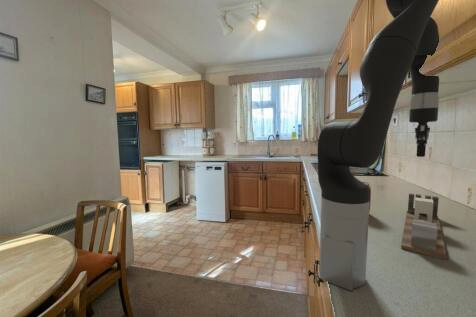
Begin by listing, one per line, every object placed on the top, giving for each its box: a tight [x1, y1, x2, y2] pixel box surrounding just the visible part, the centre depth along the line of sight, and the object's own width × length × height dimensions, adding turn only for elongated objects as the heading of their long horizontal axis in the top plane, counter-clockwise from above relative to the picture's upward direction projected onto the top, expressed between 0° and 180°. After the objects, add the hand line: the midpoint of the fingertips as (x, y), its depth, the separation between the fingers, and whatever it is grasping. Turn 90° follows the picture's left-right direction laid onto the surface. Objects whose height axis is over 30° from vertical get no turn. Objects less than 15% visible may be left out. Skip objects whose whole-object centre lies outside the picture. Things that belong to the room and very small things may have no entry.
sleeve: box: [414, 197, 433, 223], centre depth 73 cm, size 4×4×7 cm
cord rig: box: [400, 192, 447, 260], centre depth 72 cm, size 35×9×8 cm, turn 142°
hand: (420, 155), depth 79 cm, fingers open, 8 cm apart
